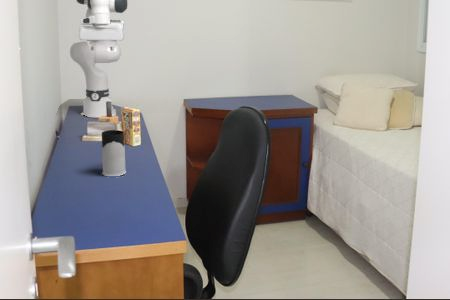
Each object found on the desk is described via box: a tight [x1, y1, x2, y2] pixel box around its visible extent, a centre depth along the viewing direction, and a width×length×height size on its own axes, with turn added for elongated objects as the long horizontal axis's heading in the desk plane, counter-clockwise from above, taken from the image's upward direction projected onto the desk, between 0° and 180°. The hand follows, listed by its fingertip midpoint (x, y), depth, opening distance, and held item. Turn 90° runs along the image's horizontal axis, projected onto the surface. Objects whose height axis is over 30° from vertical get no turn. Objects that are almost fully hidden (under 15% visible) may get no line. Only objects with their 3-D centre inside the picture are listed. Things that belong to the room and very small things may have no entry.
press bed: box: [81, 121, 122, 142], centre depth 245 cm, size 24×16×8 cm, turn 1°
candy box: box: [120, 106, 142, 147], centre depth 228 cm, size 9×4×15 cm, turn 44°
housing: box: [96, 118, 111, 122], centre depth 241 cm, size 4×5×6 cm
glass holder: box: [101, 130, 127, 176], centre depth 190 cm, size 9×14×15 cm, turn 15°
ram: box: [98, 100, 120, 129], centre depth 250 cm, size 6×8×12 cm
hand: (102, 50), depth 248 cm, fingers open, 8 cm apart
